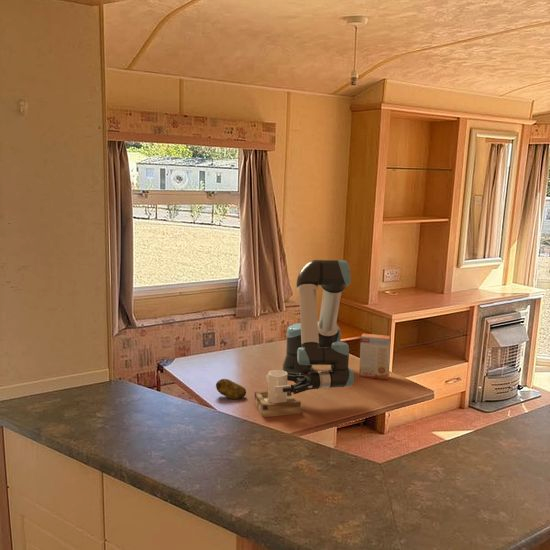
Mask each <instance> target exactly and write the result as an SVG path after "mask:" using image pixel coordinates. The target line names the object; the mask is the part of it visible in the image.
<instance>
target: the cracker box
mask: <svg viewBox="0 0 550 550" xmlns="http://www.w3.org/2000/svg"><path fill="white" fill-rule="evenodd" d="M391 337H392V336H391V335H384V334H374V333H365V332H364V333H362V334H361V336H360V344H359V345H360V349H359V370H358V371H359V373H358V374H359V377H360V376H361V377H363V378H370V379H378V380H385V379H386V380H387V381H388V379H389V377H390V363H391V362H390V361H391ZM361 377H360V378H361Z"/></svg>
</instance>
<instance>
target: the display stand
mask: <svg viewBox="0 0 550 550" xmlns="http://www.w3.org/2000/svg"><path fill="white" fill-rule="evenodd" d="M267 398H268V390H262V391H254V404H255V406H256V408H257V410H258V411H259V412H260V415H261V417H262V418H268V417H278V416H289V415H297V414H301V411H302V410H301V407H302V406H301V405H302V403H301V400H296V398H294V396H293V395H292V393H291V392H287V402H280V403H271V402H269V401H268V400H267Z"/></svg>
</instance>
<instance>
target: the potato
mask: <svg viewBox="0 0 550 550" xmlns="http://www.w3.org/2000/svg"><path fill="white" fill-rule="evenodd" d="M215 388H216V391H217V392H218V393H219V394H220V395H222V396H224V397H226V398H228V399H232V400H237V399H238V400H239V399H241V398H243V397H245V396H246V395H247V389H246V388H245V387H244V386H242V385H241V384H239V383H236V382H234V381H232V380H230V379H227V378H222V379H219V380H218V381H217V382H216V384H215Z"/></svg>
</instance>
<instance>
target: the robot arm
mask: <svg viewBox="0 0 550 550" xmlns="http://www.w3.org/2000/svg"><path fill="white" fill-rule="evenodd" d="M351 278H352V277H351V269H350V264H349V261H347V260H343V259H342V260H341V259H335V260H334V259H313V260H311V261H308V262H307V263H306V264H305V265H303V267H302V268H301V269H300V270H299V273H298V276H297V278H296V290H297V291H298V293H299V314H300V316H299V317H300V319H299V320H300V323H299V322H298V323H293V324H291V325H288V327H287V328H286V336H285V337H286V347H285V348H286V353H285V354H286V355H285V356H284V360H283V363H282V370H283V371H286V372H287V382H288V381H289V382H293V384H287V385H285V386H274V393H284V392H291V394H293V395H297V394H300V393H304V392H306V391H309V390H311V391H312V390H318V389H323V390H326V389H330V388H331V389H332V388H346V387H351V386H352V385H354V381H355V375H354V374H355V373H354V371H353V369H351V368H349V363H350V362H349V361H350V359H349V358H350V347H349V344H348V343H347V342H345V341H341V339H342V338H341V337H342V331H341V328H340V327H339V325H338V324H337V323H338V315H339V309H340V302H341V296H342V292H345V289H346V287H348V286H350V285H351V282H352V281H351V280H352V279H351ZM319 286H320V287H321V289H322V295H321V296H322V297H321V304H320V311H319V318H318V305H317V303H318V302H317V301H318V300H317V290H319ZM318 319H319V320H318ZM313 366H330V369H326V370H325V369H324V370H318V371H313ZM265 381H266V383H268V374H266V375H265Z"/></svg>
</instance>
